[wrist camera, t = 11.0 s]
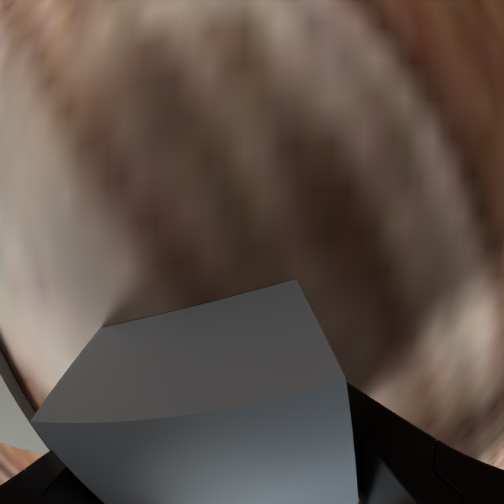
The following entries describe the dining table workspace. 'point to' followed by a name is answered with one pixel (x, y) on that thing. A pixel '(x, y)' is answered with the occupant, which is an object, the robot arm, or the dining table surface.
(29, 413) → the tower base
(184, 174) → the dining table surface
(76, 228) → the dining table surface
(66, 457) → the slate block
